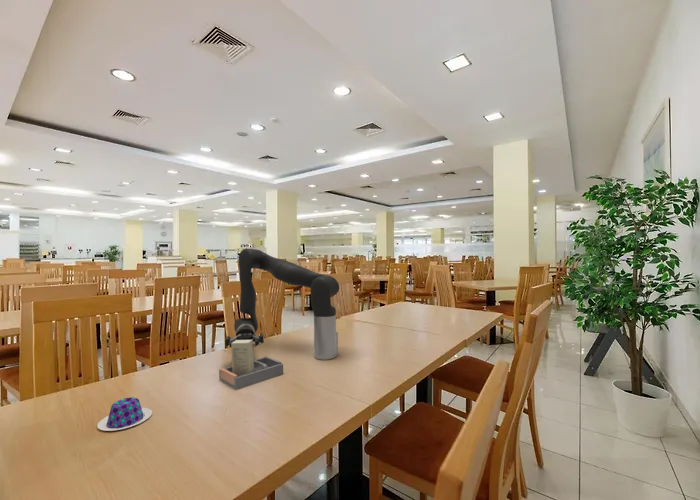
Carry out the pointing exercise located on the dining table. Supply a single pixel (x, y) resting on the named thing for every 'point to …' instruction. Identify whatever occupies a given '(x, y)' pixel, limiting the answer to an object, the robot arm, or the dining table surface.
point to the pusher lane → (251, 374)
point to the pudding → (124, 415)
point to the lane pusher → (259, 365)
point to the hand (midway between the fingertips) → (244, 344)
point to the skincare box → (242, 357)
